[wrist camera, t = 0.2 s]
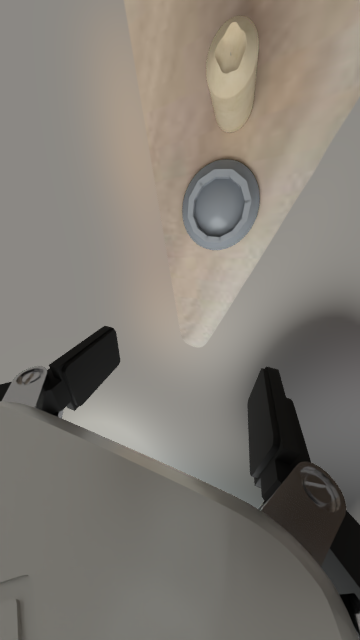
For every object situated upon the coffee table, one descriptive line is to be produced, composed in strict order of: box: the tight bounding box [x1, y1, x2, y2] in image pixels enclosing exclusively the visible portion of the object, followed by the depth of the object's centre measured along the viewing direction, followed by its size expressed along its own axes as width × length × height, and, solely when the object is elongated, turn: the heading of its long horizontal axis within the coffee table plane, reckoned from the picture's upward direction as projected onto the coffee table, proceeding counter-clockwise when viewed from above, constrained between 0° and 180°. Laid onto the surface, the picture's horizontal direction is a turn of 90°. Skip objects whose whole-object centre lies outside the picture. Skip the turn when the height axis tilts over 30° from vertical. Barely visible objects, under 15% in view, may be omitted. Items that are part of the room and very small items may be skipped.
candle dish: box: [183, 159, 260, 250], centre depth 31 cm, size 14×14×2 cm
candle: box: [206, 16, 259, 133], centre depth 21 cm, size 6×6×10 cm
